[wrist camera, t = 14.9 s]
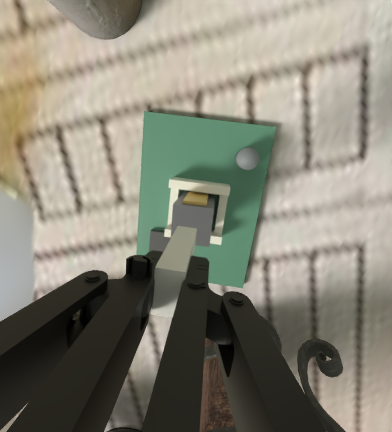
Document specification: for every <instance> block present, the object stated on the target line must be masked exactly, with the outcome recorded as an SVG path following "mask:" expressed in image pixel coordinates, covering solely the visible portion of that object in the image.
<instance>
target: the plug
mask: <svg viewBox="0 0 392 432" xmlns="http://www.w3.org/2000/svg"><path fill="white" fill-rule="evenodd" d="M214 198H215V195H213V194H208V193H201V192H192V191H190V192H187V191H184V192H183V193H182V195H181V196H180V197H179V198H178V199H177V200H176V201H175V202H174V203H173V211H172V225H171V237H172V235H173V234H174V232H175V230H176V228H177V226H184V227H190V228H197V233H196V240H195V245H196V246H204V247H209V246H210V238H211V230H212V222H213V214H214Z"/></svg>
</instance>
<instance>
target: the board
mask: <svg viewBox="0 0 392 432" xmlns="http://www.w3.org/2000/svg"><path fill="white" fill-rule="evenodd" d="M275 132H276V127H271V126H262V125H254V124H246V123H237V122H229V121H221V120H212V119H204V118H196V117H187V116H179V115H171V114H163V113H154V112H146V111H144V126H143V144H142V163H141V181H140V200H139V218H138V237H137V255H146V254H147V253H148V252H150V251H152V250H155V251H162V252H164V250H165V248H166V246H167V245H168V243H169V241H170V239H171V225H172V211H173V203H174V202H175V201H176V200H177V199H178V198H179V197H180V196H181V195H182V193H183V192H184V191H187V192H190V191H192V192H201V193H208V194H213V195H215V198H214V214H213V222H212V230H211V238H210V246H209V247H204V246H196V245H195V248H194V255H193V256H198V257H205V258H207V259H208V261H209V277H208V283H214V284H220V285H226V286H233V287H239V288H243V285H244V280H245V275H246V270H247V266H248V261H249V256H250V251H251V246H252V242H253V237H254V232H255V227H256V222H257V218H258V213H259V208H260V203H261V199H262V194H263V189H264V184H265V179H266V175H267V170H268V165H269V160H270V156H271V151H272V146H273V141H274V136H275Z"/></svg>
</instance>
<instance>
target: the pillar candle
mask: <svg viewBox="0 0 392 432" xmlns="http://www.w3.org/2000/svg"><path fill="white" fill-rule="evenodd" d="M48 1H49V2H50V3H51V4H52V5H53V6H55V7H56V8H57V9H58V10H59V11H60V12H61V13H63V14H64V15H65V16H66V17H67V18H68V19H69V20H71V21H72V22H73V23H74V24H75V25H76V26H77V27H78V28H79V29H80V30H82V31H83V32H85V33H87V34H88V35H90V36H92V37H95V38H99V39H114V38H117V37H118V36H120V35H122V34H124V33H125V32H127V31H128V29H129V28H130V27H131V26H132V25H133V24H134V21H135V20H136V18H137V16H138V14H139V11H140V8H141V4H142V0H48Z"/></svg>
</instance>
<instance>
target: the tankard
mask: <svg viewBox="0 0 392 432" xmlns="http://www.w3.org/2000/svg"><path fill="white" fill-rule="evenodd" d="M259 316H260V315H259ZM260 318H261V320H262V321H263V323H264V325H265V326H266V328H267V330H268V332H269V333H270V335H271V337H272V339H273V340H274V342H275V344H276V345H277V347H278V349H279V351H280V352H281V342H280V338H279V336H278V334H277V332H276V330H275V329H274V328H273V326H272V325H271V324H270V323H269V322H268V321H267V320H266V319H264V318H263V317H262V316H260ZM313 356H316V360H317V364H318V367H319V369H320V370H321V372H322V373H324V374H325V375H326V376H329V377H337V376H339V375H340V374H341V373H342V371H343V365H342V362H341V358H340V355H339V353H338V350H337V349H336V348H335V347H334V346H333V345H331V344H330V343H328V342H326V341H324V340H320V339H311V340H308V341H306V342H305V343H303V344H302V346H301V347H300V349H299V351H298V358H297V362H298V372H299V376H300V380H301V383H302V386H303V389H304V392H305V395H306V397H307V399H308V401H309V402H310V404H311V406H312V408H313V409H314V411H315V413H316V414H317V416H318V418H319V420H320V421H321V423H322V425H323V426H324V428H325V430H326V431H327V432H346V431H345V430H344V429H343V428H342V427H341V426H340V425H339V424H338V423H337V422H336V421H335V420H334V419H333V418H332V417H331V416H329V415H328V414H327V412H326V411H325V410H324V409H323V408H322V406H321V405H320V404H319V402H318V401H317V399H316V398H315V396H314V394H313V392H312V390H311V388H310V386H309V383H308V375H307V367H308V362H309V360H310V359H311V358H312V357H313ZM326 356H328V357H330V358H331V360H329V361H325V360H326ZM200 432H237V431H236V427H235V423H234V419H233V416H232V412H231V408H230V404H229V400H228V397H227V393H226V389H225V385H224V381H223V378H222V374H221V370H220V366H219V362H218V359H217V355H216V351H215V347H214V342H213V341H211V340H209V339H207V338H206V339H205V354H204V370H203V386H202V402H201V418H200Z"/></svg>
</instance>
